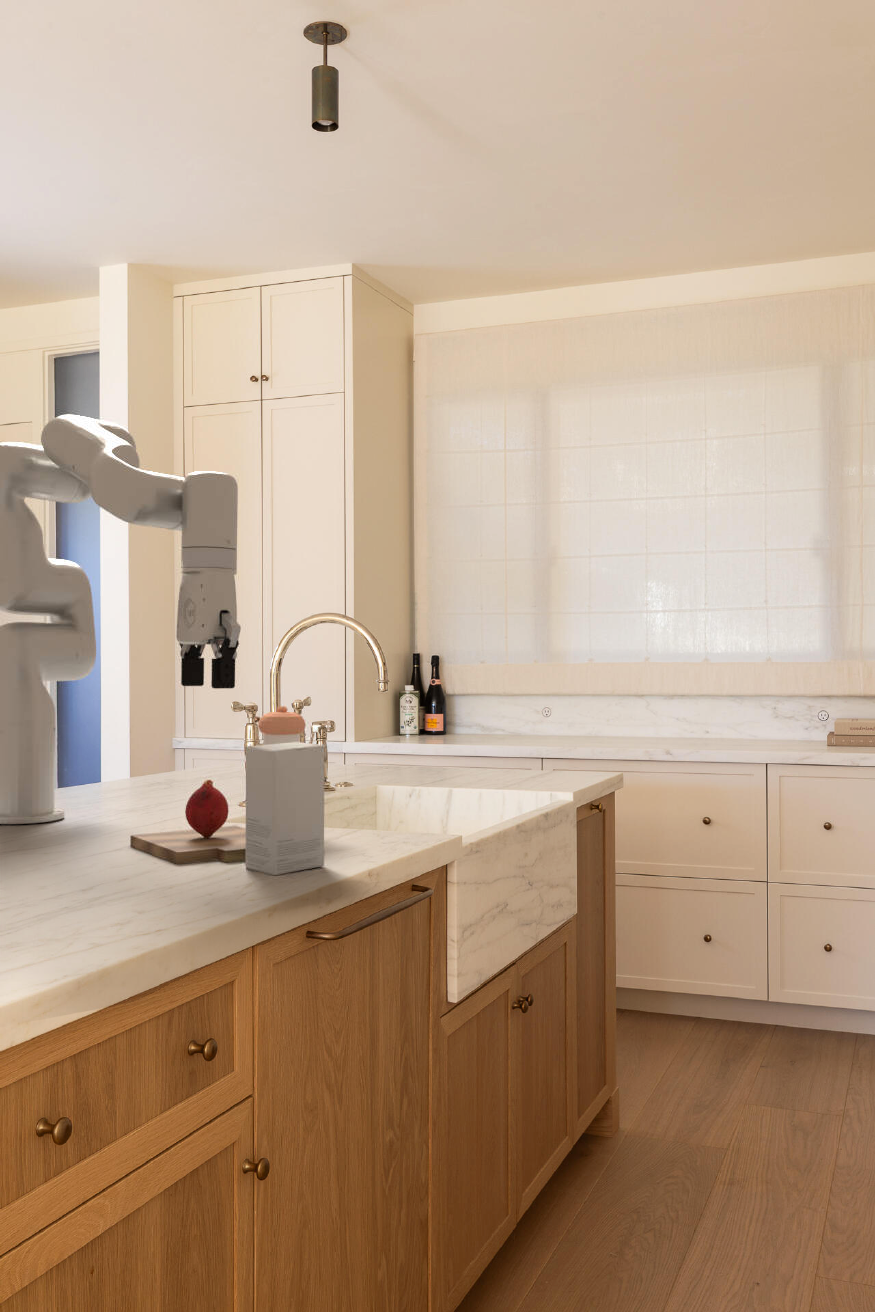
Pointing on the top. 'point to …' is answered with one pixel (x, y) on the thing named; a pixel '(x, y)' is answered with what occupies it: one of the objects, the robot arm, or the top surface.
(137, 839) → the board
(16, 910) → the top surface
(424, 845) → the top surface
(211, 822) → the onion
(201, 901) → the top surface
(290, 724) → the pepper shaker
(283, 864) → the skincare box
